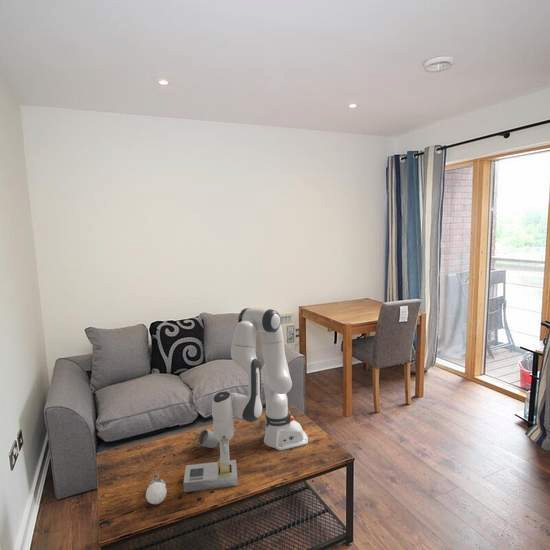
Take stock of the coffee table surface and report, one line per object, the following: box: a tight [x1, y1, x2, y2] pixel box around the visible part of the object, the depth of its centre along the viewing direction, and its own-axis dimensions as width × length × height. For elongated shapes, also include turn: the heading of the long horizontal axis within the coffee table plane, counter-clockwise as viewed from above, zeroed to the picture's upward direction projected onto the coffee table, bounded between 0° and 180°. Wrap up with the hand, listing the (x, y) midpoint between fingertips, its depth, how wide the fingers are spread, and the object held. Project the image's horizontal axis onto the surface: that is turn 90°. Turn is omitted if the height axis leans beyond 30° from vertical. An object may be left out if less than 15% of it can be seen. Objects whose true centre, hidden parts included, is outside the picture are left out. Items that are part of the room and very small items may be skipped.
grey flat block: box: [183, 459, 239, 493], centre depth 162 cm, size 22×12×4 cm, turn 99°
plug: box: [217, 459, 230, 474], centre depth 162 cm, size 5×4×9 cm
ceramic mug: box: [197, 428, 220, 449], centre depth 187 cm, size 11×8×8 cm
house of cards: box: [147, 471, 167, 488], centre depth 154 cm, size 9×9×8 cm
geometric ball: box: [145, 481, 168, 505], centre depth 148 cm, size 8×8×8 cm
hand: (225, 461), depth 162 cm, fingers open, 8 cm apart
